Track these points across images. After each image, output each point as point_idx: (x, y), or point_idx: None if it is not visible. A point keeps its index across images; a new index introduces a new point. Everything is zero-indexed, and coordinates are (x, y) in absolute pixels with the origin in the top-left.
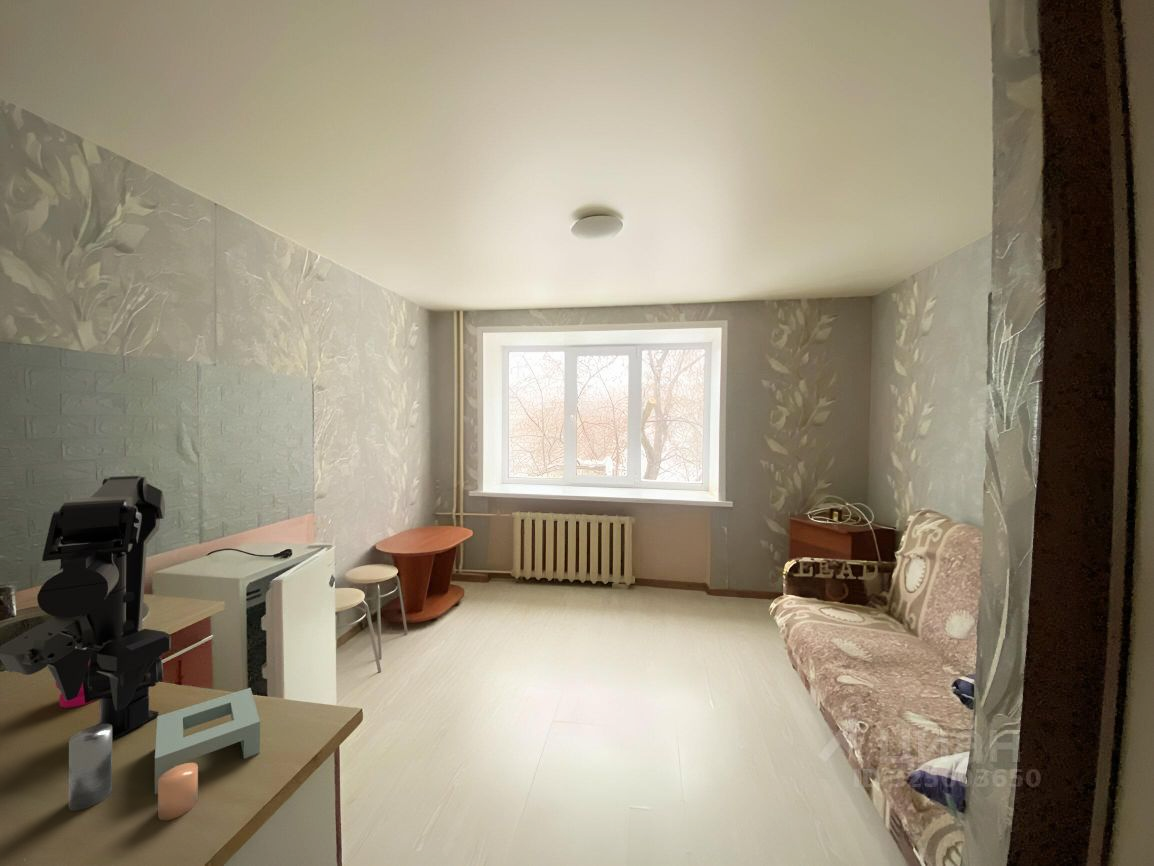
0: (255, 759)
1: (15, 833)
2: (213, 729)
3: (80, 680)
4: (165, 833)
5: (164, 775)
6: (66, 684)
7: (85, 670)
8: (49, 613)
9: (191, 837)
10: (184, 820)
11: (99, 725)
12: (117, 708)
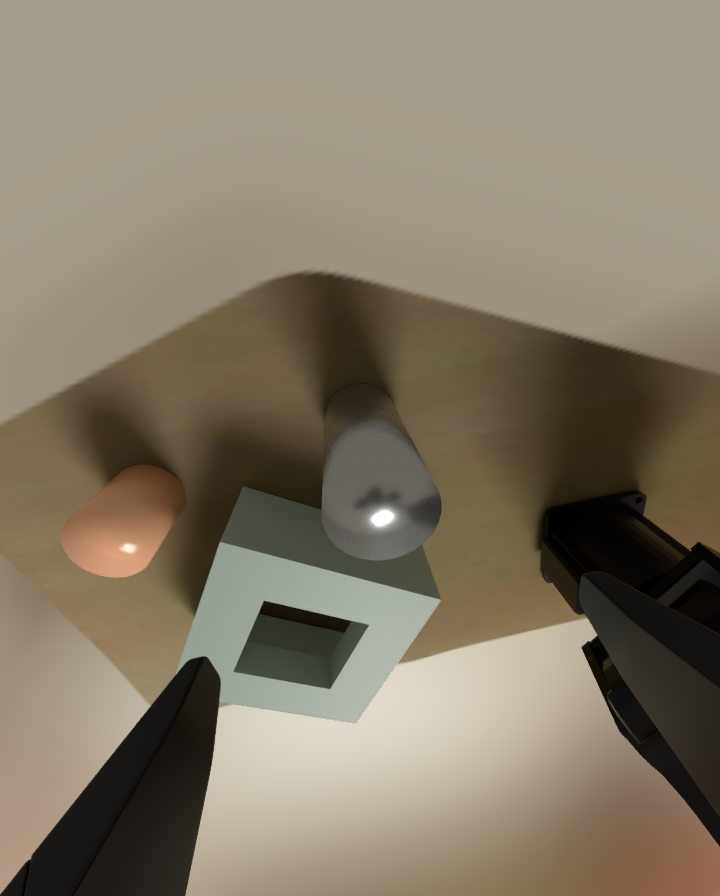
0: (182, 610)
1: (382, 295)
2: (234, 640)
3: (650, 705)
4: (75, 454)
5: (132, 528)
6: (678, 671)
7: (703, 793)
8: None
9: (13, 474)
10: (88, 485)
11: (415, 541)
12: (177, 673)
